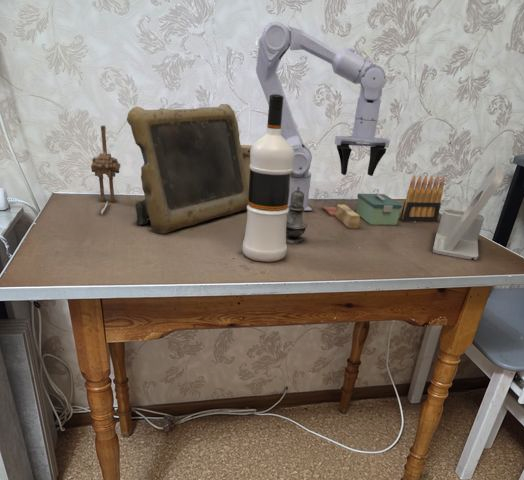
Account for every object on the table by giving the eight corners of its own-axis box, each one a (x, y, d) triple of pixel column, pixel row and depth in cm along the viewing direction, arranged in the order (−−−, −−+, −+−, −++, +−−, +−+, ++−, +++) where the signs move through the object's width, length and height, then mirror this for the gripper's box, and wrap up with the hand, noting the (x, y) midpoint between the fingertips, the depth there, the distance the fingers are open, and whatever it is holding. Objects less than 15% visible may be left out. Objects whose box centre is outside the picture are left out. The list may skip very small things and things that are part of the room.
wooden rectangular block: (322, 208, 137) (324, 197, 136) (339, 209, 138) (340, 197, 137) (344, 228, 122) (346, 215, 121) (362, 228, 123) (365, 216, 122)
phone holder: (436, 232, 125) (455, 159, 116) (477, 239, 122) (500, 165, 113) (432, 252, 111) (453, 170, 102) (478, 260, 108) (504, 177, 99)
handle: (231, 201, 137) (233, 144, 129) (252, 201, 139) (256, 145, 131) (234, 205, 133) (237, 147, 125) (257, 205, 135) (261, 148, 127)
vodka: (233, 251, 102) (240, 91, 86) (268, 245, 107) (281, 92, 91) (258, 266, 96) (271, 96, 80) (294, 259, 101) (313, 97, 85)
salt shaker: (298, 245, 108) (304, 191, 102) (275, 239, 111) (280, 186, 104) (309, 239, 112) (316, 186, 106) (287, 234, 115) (293, 182, 109)
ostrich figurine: (97, 197, 130) (90, 124, 121) (123, 198, 132) (117, 126, 122) (86, 214, 116) (77, 133, 107) (115, 215, 117) (108, 135, 108)
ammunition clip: (402, 221, 132) (413, 175, 126) (399, 219, 134) (409, 174, 128) (437, 221, 135) (448, 176, 129) (433, 219, 136) (445, 175, 130)
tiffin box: (370, 225, 127) (375, 201, 123) (353, 212, 137) (357, 189, 134) (398, 225, 128) (403, 201, 125) (379, 212, 138) (384, 190, 135)
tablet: (173, 238, 106) (170, 112, 93) (127, 225, 112) (118, 104, 99) (253, 210, 130) (259, 107, 118) (211, 200, 136) (213, 101, 123)
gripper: (344, 119, 118) (336, 177, 125) (399, 122, 121) (387, 178, 128) (335, 116, 124) (327, 171, 131) (387, 119, 127) (377, 173, 134)
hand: (356, 174), depth 130 cm, fingers open, 7 cm apart
